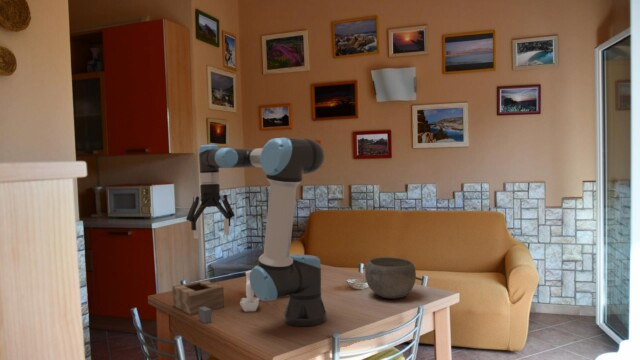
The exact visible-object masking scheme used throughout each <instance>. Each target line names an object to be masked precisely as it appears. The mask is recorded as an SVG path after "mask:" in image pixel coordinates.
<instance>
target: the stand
mask: <svg viewBox="0 0 640 360" xmlns="http://www.w3.org/2000/svg"><path fill="white" fill-rule="evenodd" d="M198 321H200V322H202V323H204V324H209V323H212V310H211V309H209V308H207V307H200V308H199V313H198Z"/></svg>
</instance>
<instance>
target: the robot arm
mask: <svg viewBox="0 0 640 360" xmlns="http://www.w3.org/2000/svg"><path fill="white" fill-rule="evenodd" d="M198 149H199V153H198V160H199V161H198V162H199V183H200V185H199V187H200V196H193V198H192V199H193V200H192V204H191V206H190V209H189V211H188V213H187V216H186V219H185V220H186V221H187V222H190V225H191V226H190V227H191V231H192V232H193V239H196V240H198V239H199V238H200V236H199V232H200V231H199V221H198V219H199V218H200V216H201V215H202V213H203V212H204V211H205V209H207V208H211V207H215V208H217V209H218V210H219V212H220V213H221V215H223V217H224V218H223V233H224V235H226V236H229V235H230V227H231V219H232V218H233V217H235V213H234V210H233V209H232V207H231V204H230V203H229V201H228V195H227V194H220V192H221V188H220V186H221V185H220V184H219V183H220V169H234V168H237V169H238V168H240V169H241V168H253V169H255V168H261V170H262V172H263V173H264V174H266V177H265V179H266V180H267V181H268V183H269V184H270V185H269V195H268V207H267V214H266V225H265V237H264V238H265V239H264V245H263V246H264V247H263V248H264V249H263V253H262V254H261V255H260V256H259V257H258V262H257V265H256V266H254V267H253V268H251V272H250V285H251V288H252V290H253V294H254V295H255V296H256V297H258V298H259V299H260V300H261V301H263V302H267V301H275V300H276V299H281V298H285V297H288V300H287V303H286V307H285V312H284V315H283V317H284V318H283V319H284V320H283V321H284V322H285V323H286V324H288V325H290V326H295V327H313V326H316V325H321V324H323V323H325V322H326V320H327V310H326V308H325V305H324V301H323V298H322V267H321V259H320V258H319V257H318V256H315V255H309V254H301V253H299V254H296V253H295V254H292V253H291V254H290V252H291V242H292V233H293V224H294V215H295V205H296V195H297V187H298V185H300V184H301V183H302V182H303V175H304V174H307V175H308V174H312V173H315V172H317V171H319V169H320V168H321V167H322V166H323V164H324V162H325V157H326V156H325V151H324V149H323V147H322V145H321V144H320V143H319V142H317V141H316V140H314V139H311V138H296V137H295V138H292V137H291V138H290V137H275V138H271V139H270V140H268V141H267V142H266V143H265V145H264V146H263V147H260V148H258V147H257V148H232V147H222V148H219V146H218V145H217V144H202V145H200V146H199V148H198ZM220 201H221V202H222V203H221V202H220ZM200 202H201V203H200ZM199 203H200V205H199ZM222 204H223V205H222ZM198 206H199V207H198Z"/></svg>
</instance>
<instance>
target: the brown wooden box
mask: <svg viewBox="0 0 640 360" xmlns="http://www.w3.org/2000/svg"><path fill="white" fill-rule="evenodd" d="M224 291H225V290H224V286H221V285H219V284H216V283H213V282H211V281H208V280H205V279H204V280H199V281H193V282H188V283H184V284H178V285H174V286H173V285H172V305H173V308H176V309H178V310H179V311H182V312H183V313H186V314H187V315H189V316H193V315H199V308H200V307H207V308H209V309H211V311H215V310H218V309H223V308H225V301H224V300H225V299H224V298H225V295H224Z"/></svg>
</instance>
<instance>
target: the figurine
mask: <svg viewBox="0 0 640 360" xmlns="http://www.w3.org/2000/svg"><path fill="white" fill-rule="evenodd" d="M251 270H252V269H251ZM251 270H250V269H249V270H247V271H245V276H246V278H245V279H246V281H245V282H246V283H245V296H246V297H241V299H240V302H239V305H240V307H241V308H242V311H243V312H245V313H247V312H256V311H257V309H258V306H259V304H260V299H259V298H258V297H257V296H256V297H254V295H255V294H254V292H253V290H252V288H251V285H250V272H251Z"/></svg>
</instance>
